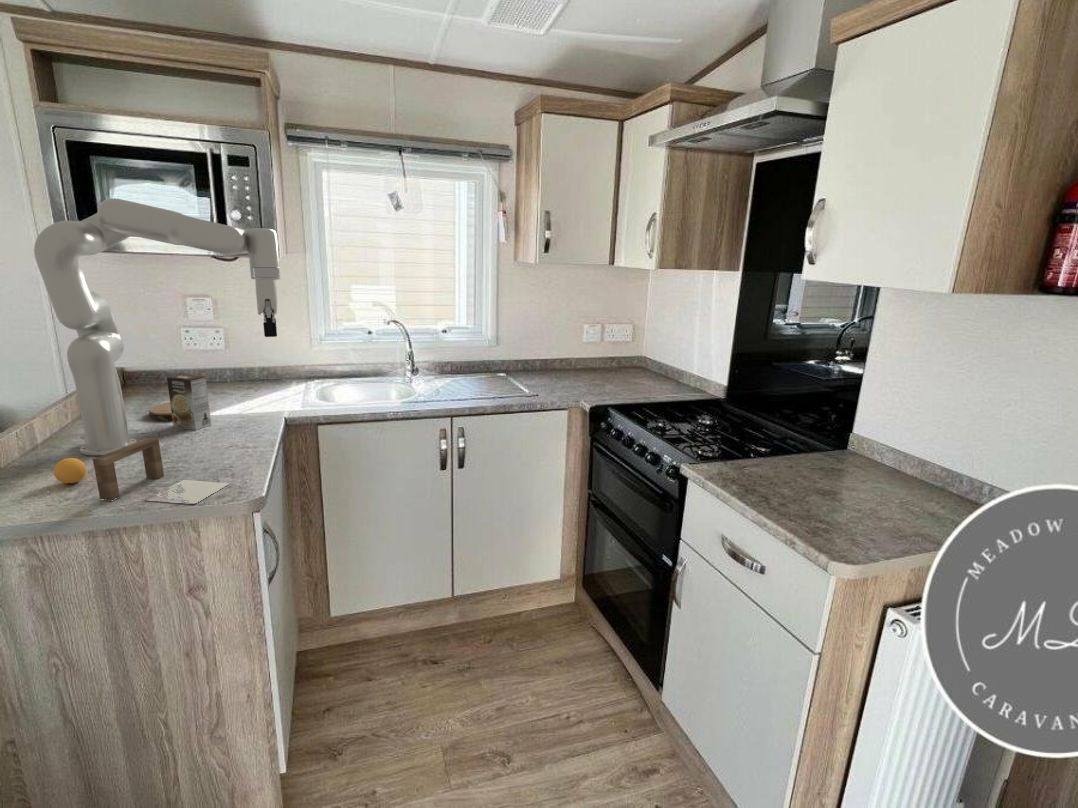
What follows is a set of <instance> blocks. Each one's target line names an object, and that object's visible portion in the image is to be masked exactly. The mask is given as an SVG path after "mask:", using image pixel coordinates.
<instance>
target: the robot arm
mask: <svg viewBox="0 0 1078 808" xmlns="http://www.w3.org/2000/svg"><path fill="white" fill-rule="evenodd" d="M131 236H132V237H136V238H142V239H146V240H151V241H155V242H159V243H160V242H161V243H165V244H168V245H169V244H171V245H174V246H184V247H189V248H194V249H198V250H204V251H208V252H213V253H218V254H222V255H227V256H235V255H243V254H245V255H246V254H248V260H249V269H250V271H249V272H250V279H251V280H255V281H254V283H255V294H256V295H255V296H256V307H257V315H259V316H261V315H262V314H263V324H262V325H263V335H264V337H265V338H275V337H277V336H278V331H277V319H276V318H275V316H276V315H277V313H278V289H277V280H281V272H280V271H281V270H280V261H279V260H280V258H279V248H278V236H277V232H276V231H275V230H274V229H272V228H265V227H264V228H261V227H251V228H241V227H237V226H233V225H226V224H224V223H223V224H222V223H219V222H218V223H217V222H213V221H209V220H205V219H202V218H201V219H200V218H196V217H192V216H189V215H186V214H183V213H181V212H179V211H178V212H177V211H174V210H171V209H166V208H163V207H161V208H160V207H157V206H152V205H148V204H143V203H139V202H135V201H129V200H126V199H123V198H115V197H113V198H107V199H105V200H103V201H102V202H100V204H98V207H97V212H96V213H94V214H93V215H91V216H88V217H87V218H83V219H82V220H80V221H78V220H61V221H58V222H54V223H52V224H50V225H48V226H47V227H45V228H44V229H43V230H42V231H41V232H40V233H39V234H38V236H36V240H35V242H34V246H33V251H34V252H33V253H34V259H35V262H36V265H37V268H38V270H39V272H40V275H41V277H42V280H43V283H44V286H45V289H46V292H47V294H48V296H49V300H50V302H51V305H52V308H53V311H54V313H55V315H56V318H57V320H58V321H59V323H61V325H63V326H64V328H66V329H69V330H74V331H76V333H77V336H78V337H76V338H75V339H73V340H72V341H71V343H70V344H69V345H68V348H67V351H66V360H67V362H68V366H69V369H70V371H71V375H72V378H73V382H74V385H75V390H76V397H77V400H78V405H79V411H80V415H81V421H82V426H83V432H84V433H82V434H80V435H79V439H80V440H84V443H85V444H84V445H82V446H81V447H80V449H79V450H80V453H81V454H82V455H85V456H94V457H95V456H96V457H99V456H102V455H105V454H107V453H110V452H112V451H115V450H118V449H120V448H123V447H125V446H128V445H130V444H133V443H135V442H138V440H137V439H135V438H132V437H130V434H129V429H128V423H127V422H128V421H127V417H126V415H127V414H126V410H125V402H124V399H123V392H122V386H121V382H120V378H119V375H118V371H117V368H116V365H115V362H117V361H118V360H119V359H120V358H121V357H122V355H123V353H124V350H125V349H124V347H125V346H124V341H123V338H122V335H121V332H120V330H119V327H118V325H117V322H116V321H117V320H116V318H115V315H114V313H113V310H112V308H111V306H110V305H109V304H110V303H108V301H107V300H106V299H105V298H104V297H103V296H102V295H101V294H99V293H97V292H94V291H91V289H90V287H89V284H88V281H87V277H86V275H85V273H84V271H83V269H82V267H81V266H80V263H79V257H82V256H83V257H85V256H93V255H98V254H100V253H102V252H104V251H106V250H107V249H110V248H112V247H113V246H115V245H117V244H119V243H121V242H123V241H125V240H126V239H128V238H130V237H131Z"/></svg>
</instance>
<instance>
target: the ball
mask: <svg viewBox="0 0 1078 808" xmlns="http://www.w3.org/2000/svg"><path fill="white" fill-rule="evenodd" d="M87 471H88V470H87V466H86V464H85V463H84V461H82V459H79V458H75V457H66V458H63V459H62V460H60V461H58V462H57V463H56V464H55V466H54V469H53V476H54V478H55V479H56V480H57V481H58V482H60V483H63V484H67V483H71V484H75V482H76V483H78V482H80V481H81V480H82V479H84V477H85V476H86V474H87Z"/></svg>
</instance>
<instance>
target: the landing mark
mask: <svg viewBox="0 0 1078 808" xmlns="http://www.w3.org/2000/svg"><path fill="white" fill-rule="evenodd" d="M180 484H181V485H182V486H181V487H183V488H184V489H186V490H184V491H185V492H184V491H183V492H184V494H183V493H181V495H179V494H177V493H175V492H177V491H176V490H174V489H177V488H175V487H174V486H177V485H180ZM230 484H231V483H228V482H215V481H205V480H194V479H193V480H192V479H182V480H180V481H179V482H176V483H175V484H173V485H171V486H169V487H168V488H171V487H174V489H172V488H171V489H170V490H168V491H169V492H168V491H167V492H168V496H169V497H167V496H166V495H165V496H166V497H167V498H168V499H172V498H174V499H178V498H175V497H178V496H180V497H184V498H183V500H189V503H197V504H199V503H201V502H202V501H204V500H205V498H206V497H207V498H209V497H210V495H211V494H213V493H214V494H216V493H217V491H218V492H219V491H221V490H223V489H225V488H226V487H228V486H229V485H230ZM227 485H228V486H227ZM225 486H226V487H225ZM177 487H178V486H177ZM222 488H223V489H222ZM220 489H221V490H220ZM171 490H173V491H175V492H173V491H171ZM160 492H161V491H160ZM160 492H158V493H159V494H157V493H155V494H156V495H157V496H159V497H162V496H160V495H161V493H160ZM215 492H216V493H215ZM169 494H170V495H169ZM214 494H213V495H214ZM182 495H183V496H182ZM173 496H174V497H173ZM208 496H209V497H208ZM211 496H212V495H211ZM207 498H206V499H207ZM203 499H204V500H203ZM180 500H181V499H180ZM201 500H202V501H201ZM198 501H199V503H198ZM200 501H201V502H200ZM185 502H188V501H185Z"/></svg>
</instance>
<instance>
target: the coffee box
mask: <svg viewBox="0 0 1078 808" xmlns="http://www.w3.org/2000/svg"><path fill="white" fill-rule="evenodd" d="M206 376H207V375H206ZM206 376H205V375H201V374H194V373H193V374H192V373H185V372H183V373H179V374H175V375H171V376H167V377H166V381H167V382H166V383H167V390H168V397H169V402H170V405H171V412H172V419H173V421H172V424H173V427H174V428H179V429H186V430H193V431H198V430H200V429H203V428H207V427H209V426H211V425H212V419H211V411H210V402H209V394H208V386H207V377H206Z"/></svg>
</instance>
